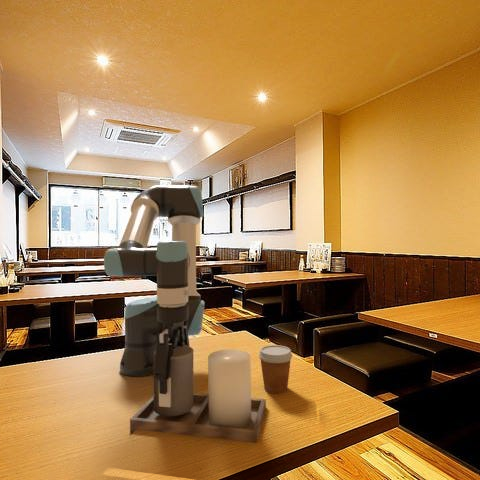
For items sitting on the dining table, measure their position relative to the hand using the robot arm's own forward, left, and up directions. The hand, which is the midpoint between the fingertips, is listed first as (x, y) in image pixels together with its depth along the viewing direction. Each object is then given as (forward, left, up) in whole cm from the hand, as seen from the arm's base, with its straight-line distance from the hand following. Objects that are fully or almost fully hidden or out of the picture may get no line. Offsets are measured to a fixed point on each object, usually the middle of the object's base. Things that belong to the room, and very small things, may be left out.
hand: (174, 395), depth 82 cm
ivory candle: (+14, 0, -5) cm, 15 cm away
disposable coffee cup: (+23, +18, -6) cm, 30 cm away
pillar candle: (0, 0, -3) cm, 3 cm away
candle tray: (+7, 0, -6) cm, 9 cm away
